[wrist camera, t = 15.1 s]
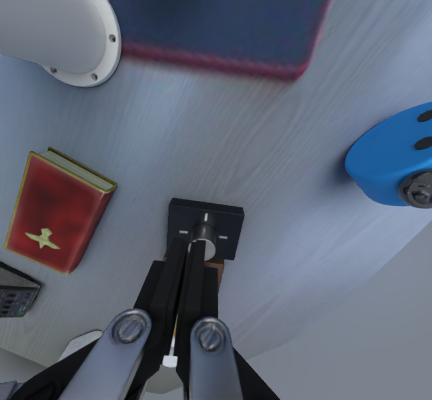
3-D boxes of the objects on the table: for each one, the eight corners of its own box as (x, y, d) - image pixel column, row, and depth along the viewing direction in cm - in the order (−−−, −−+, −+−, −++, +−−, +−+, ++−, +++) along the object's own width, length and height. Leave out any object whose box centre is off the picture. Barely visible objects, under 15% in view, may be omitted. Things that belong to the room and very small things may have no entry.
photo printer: (80, 347, 55) (45, 409, 43) (69, 339, 53) (29, 400, 42) (109, 336, 53) (79, 398, 41) (98, 327, 51) (64, 388, 40)
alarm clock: (346, 186, 35) (428, 233, 22) (326, 162, 34) (401, 197, 20) (420, 129, 31) (577, 142, 18) (401, 99, 30) (559, 88, 16)
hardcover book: (118, 184, 36) (106, 193, 32) (81, 262, 43) (67, 277, 39) (50, 147, 33) (28, 151, 29) (22, 236, 40) (1, 249, 36)
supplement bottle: (170, 324, 51) (160, 370, 42) (166, 310, 48) (154, 354, 40) (191, 323, 50) (185, 368, 41) (187, 308, 48) (181, 353, 39)
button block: (164, 285, 45) (159, 300, 42) (166, 250, 41) (161, 263, 38) (216, 291, 46) (216, 307, 42) (224, 257, 42) (224, 271, 38)
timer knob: (213, 246, 37) (213, 264, 33) (190, 242, 37) (186, 260, 32) (217, 225, 35) (217, 242, 31) (192, 222, 35) (189, 238, 31)
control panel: (169, 242, 40) (165, 252, 38) (172, 197, 36) (168, 205, 34) (232, 250, 41) (234, 261, 38) (242, 207, 37) (244, 215, 34)
